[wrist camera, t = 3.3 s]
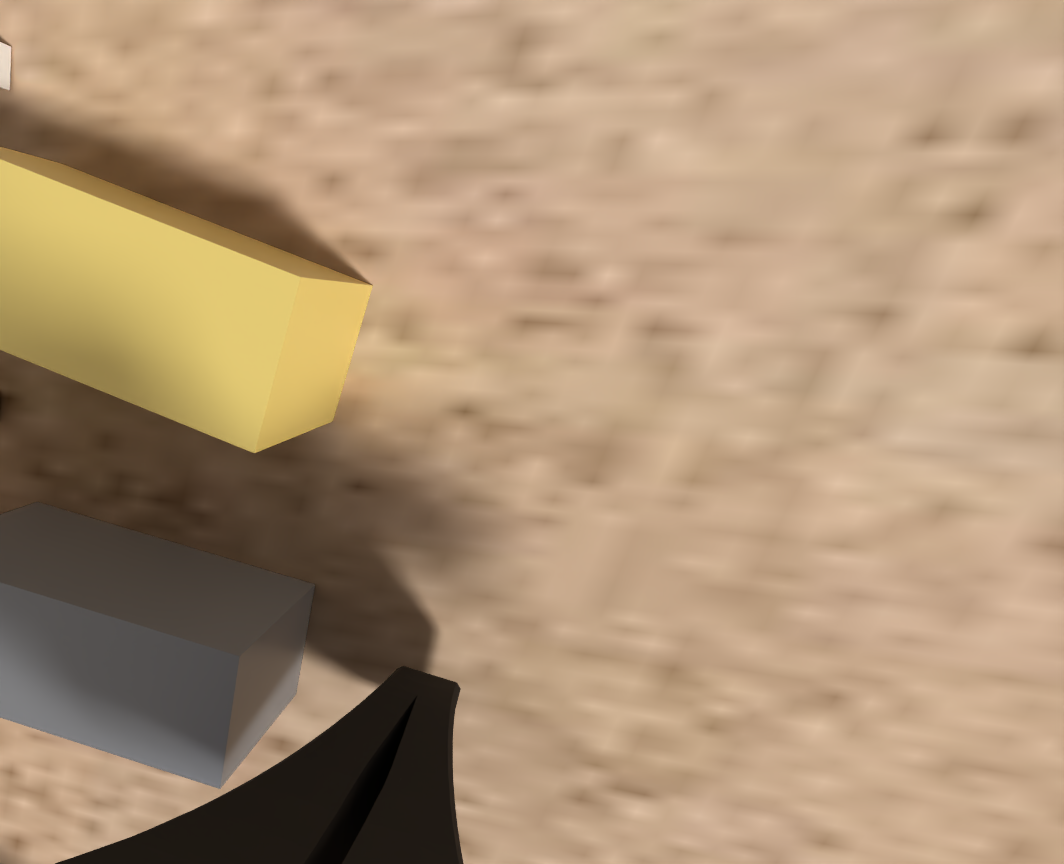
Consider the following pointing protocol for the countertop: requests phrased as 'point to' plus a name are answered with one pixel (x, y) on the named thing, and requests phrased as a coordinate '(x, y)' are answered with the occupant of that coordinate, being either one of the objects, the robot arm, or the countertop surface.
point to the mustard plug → (170, 307)
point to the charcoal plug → (143, 642)
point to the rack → (5, 66)
